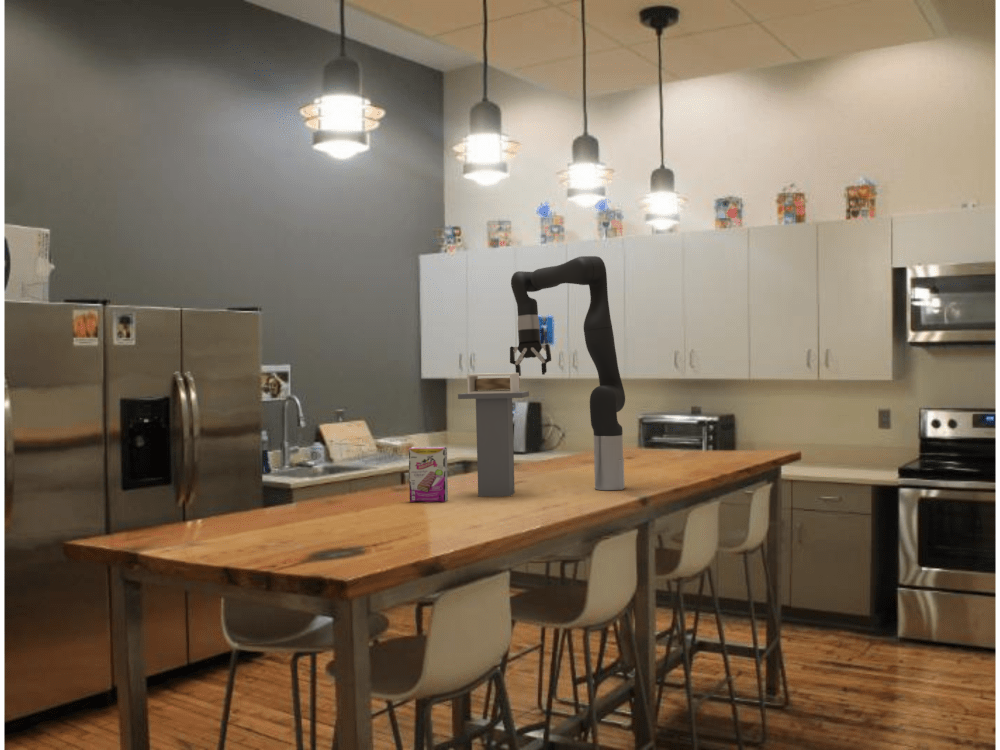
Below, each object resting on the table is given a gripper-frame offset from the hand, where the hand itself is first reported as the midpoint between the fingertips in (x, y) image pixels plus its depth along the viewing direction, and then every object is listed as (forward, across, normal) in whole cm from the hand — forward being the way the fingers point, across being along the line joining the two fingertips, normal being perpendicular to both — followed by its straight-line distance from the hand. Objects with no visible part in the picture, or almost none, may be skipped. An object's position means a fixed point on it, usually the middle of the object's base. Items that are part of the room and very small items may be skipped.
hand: (531, 375), depth 342 cm
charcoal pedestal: (+38, -7, -35) cm, 52 cm away
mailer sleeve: (+6, -6, -36) cm, 37 cm away
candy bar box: (+37, -25, -49) cm, 67 cm away
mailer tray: (+4, -6, -24) cm, 25 cm away
